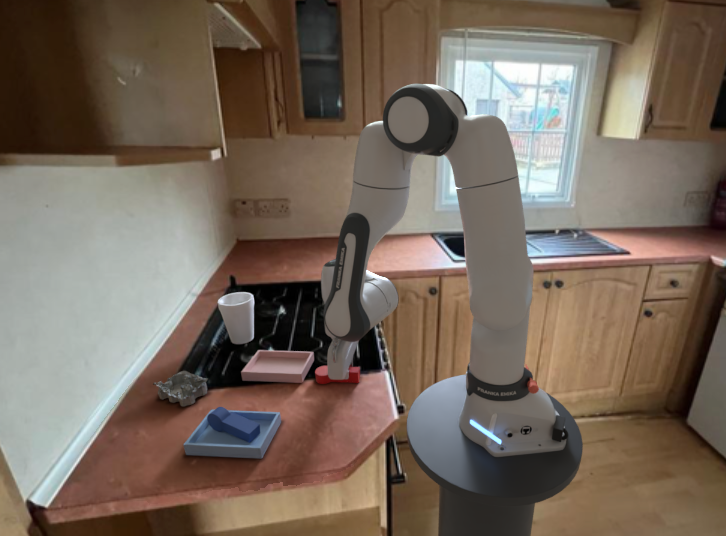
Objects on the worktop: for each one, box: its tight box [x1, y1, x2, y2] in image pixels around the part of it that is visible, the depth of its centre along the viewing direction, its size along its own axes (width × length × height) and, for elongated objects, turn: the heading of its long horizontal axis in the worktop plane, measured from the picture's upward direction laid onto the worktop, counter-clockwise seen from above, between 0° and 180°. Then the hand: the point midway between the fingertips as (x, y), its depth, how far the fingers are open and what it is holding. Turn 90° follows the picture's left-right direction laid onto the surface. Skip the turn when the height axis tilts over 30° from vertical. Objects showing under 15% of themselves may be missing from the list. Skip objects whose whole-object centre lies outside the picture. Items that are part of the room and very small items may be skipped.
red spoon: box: [314, 365, 361, 385], centre depth 102 cm, size 11×4×3 cm, turn 86°
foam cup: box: [217, 291, 255, 345], centre depth 119 cm, size 10×9×13 cm
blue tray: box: [183, 408, 282, 460], centre depth 84 cm, size 15×10×3 cm
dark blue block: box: [207, 406, 260, 443], centre depth 84 cm, size 11×4×3 cm
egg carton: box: [152, 370, 209, 408], centre depth 96 cm, size 11×8×4 cm
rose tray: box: [240, 349, 315, 384], centre depth 106 cm, size 15×10×3 cm
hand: (347, 373), depth 102 cm, fingers closed on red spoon, 2 cm apart
